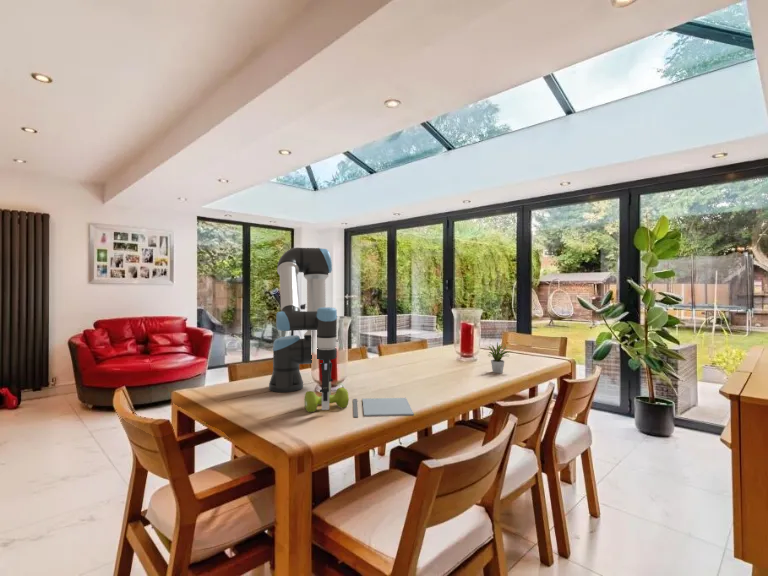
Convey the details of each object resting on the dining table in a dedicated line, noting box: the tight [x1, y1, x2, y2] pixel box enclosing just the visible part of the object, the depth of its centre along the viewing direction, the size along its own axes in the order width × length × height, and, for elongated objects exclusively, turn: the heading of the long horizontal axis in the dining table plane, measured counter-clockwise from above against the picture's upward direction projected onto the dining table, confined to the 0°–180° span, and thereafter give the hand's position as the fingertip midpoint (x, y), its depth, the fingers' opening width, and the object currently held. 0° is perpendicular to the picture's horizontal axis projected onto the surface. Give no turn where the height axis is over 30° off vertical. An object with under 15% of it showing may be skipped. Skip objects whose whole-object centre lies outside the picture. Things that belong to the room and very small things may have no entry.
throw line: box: [352, 398, 359, 419], centre depth 152 cm, size 2×22×1 cm, turn 5°
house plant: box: [486, 342, 512, 374], centre depth 214 cm, size 14×14×16 cm
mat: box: [361, 397, 415, 417], centre depth 153 cm, size 18×20×1 cm
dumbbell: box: [303, 387, 350, 413], centre depth 151 cm, size 16×8×7 cm, turn 115°
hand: (326, 403), depth 151 cm, fingers open, 13 cm apart
